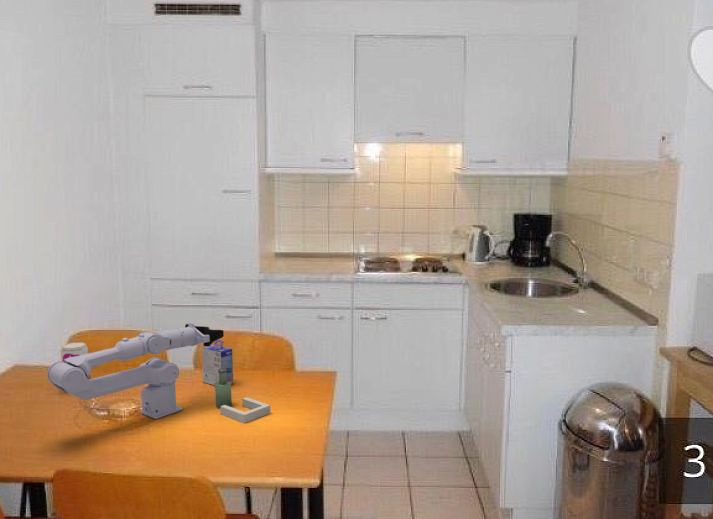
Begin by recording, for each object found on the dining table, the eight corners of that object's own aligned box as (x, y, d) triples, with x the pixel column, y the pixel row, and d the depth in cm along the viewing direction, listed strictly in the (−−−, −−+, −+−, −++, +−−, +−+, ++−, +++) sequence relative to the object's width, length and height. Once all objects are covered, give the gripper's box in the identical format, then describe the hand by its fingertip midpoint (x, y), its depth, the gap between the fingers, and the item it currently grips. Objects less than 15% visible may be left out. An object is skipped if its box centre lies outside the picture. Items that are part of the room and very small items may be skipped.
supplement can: (84, 393, 214) (81, 348, 212) (59, 393, 214) (55, 348, 212) (95, 384, 222) (91, 341, 220) (70, 385, 222) (67, 341, 220)
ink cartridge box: (234, 383, 221) (232, 341, 219) (222, 388, 217) (220, 345, 214) (215, 378, 227) (213, 337, 225) (202, 382, 222) (200, 340, 220)
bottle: (222, 409, 197) (220, 373, 196) (212, 406, 200) (210, 370, 199) (235, 405, 201) (233, 369, 199) (225, 401, 204) (223, 366, 202)
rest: (244, 423, 187) (244, 415, 186) (220, 414, 194) (220, 406, 193) (270, 413, 194) (270, 405, 194) (246, 404, 201) (246, 397, 201)
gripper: (191, 328, 193) (229, 322, 203) (164, 322, 203) (202, 316, 213) (191, 352, 194) (229, 344, 204) (165, 344, 204) (202, 338, 214)
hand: (215, 331), depth 208 cm, fingers open, 7 cm apart
